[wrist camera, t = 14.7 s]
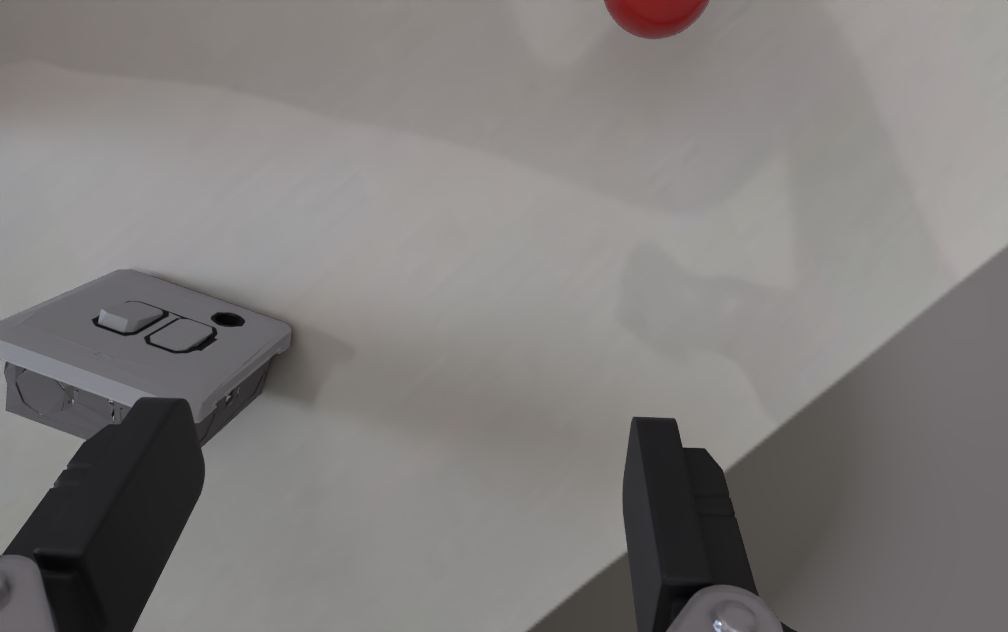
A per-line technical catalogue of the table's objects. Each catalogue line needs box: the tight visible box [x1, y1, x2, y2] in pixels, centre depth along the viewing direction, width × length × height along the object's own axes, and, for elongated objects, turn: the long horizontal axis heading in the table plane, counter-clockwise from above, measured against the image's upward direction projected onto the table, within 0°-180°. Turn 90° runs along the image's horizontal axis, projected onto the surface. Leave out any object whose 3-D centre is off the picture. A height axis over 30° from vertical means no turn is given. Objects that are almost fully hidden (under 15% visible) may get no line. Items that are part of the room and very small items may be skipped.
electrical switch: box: [0, 270, 292, 447], centre depth 35 cm, size 9×5×9 cm, turn 71°
